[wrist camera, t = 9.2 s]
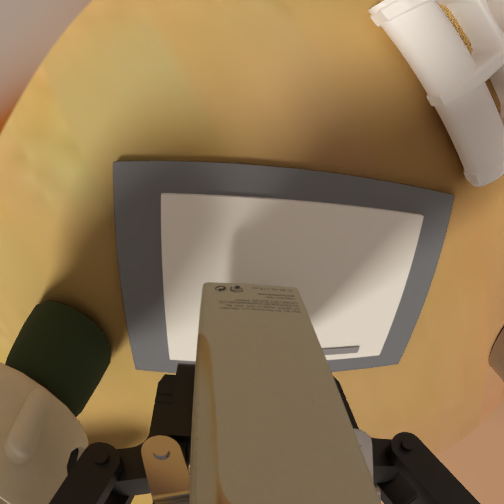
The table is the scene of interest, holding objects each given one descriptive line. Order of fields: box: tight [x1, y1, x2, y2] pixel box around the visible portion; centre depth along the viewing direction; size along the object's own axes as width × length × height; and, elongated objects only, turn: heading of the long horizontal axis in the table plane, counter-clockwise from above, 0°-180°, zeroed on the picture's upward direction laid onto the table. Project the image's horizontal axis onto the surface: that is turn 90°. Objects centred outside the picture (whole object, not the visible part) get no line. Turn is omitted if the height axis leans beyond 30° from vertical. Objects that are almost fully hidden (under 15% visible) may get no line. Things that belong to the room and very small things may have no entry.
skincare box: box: [190, 282, 380, 504], centre depth 9 cm, size 6×4×12 cm
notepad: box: [113, 161, 454, 373], centre depth 16 cm, size 19×13×1 cm
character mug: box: [0, 301, 111, 504], centre depth 11 cm, size 11×7×13 cm, turn 135°
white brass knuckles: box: [368, 0, 504, 187], centre depth 10 cm, size 3×18×15 cm
